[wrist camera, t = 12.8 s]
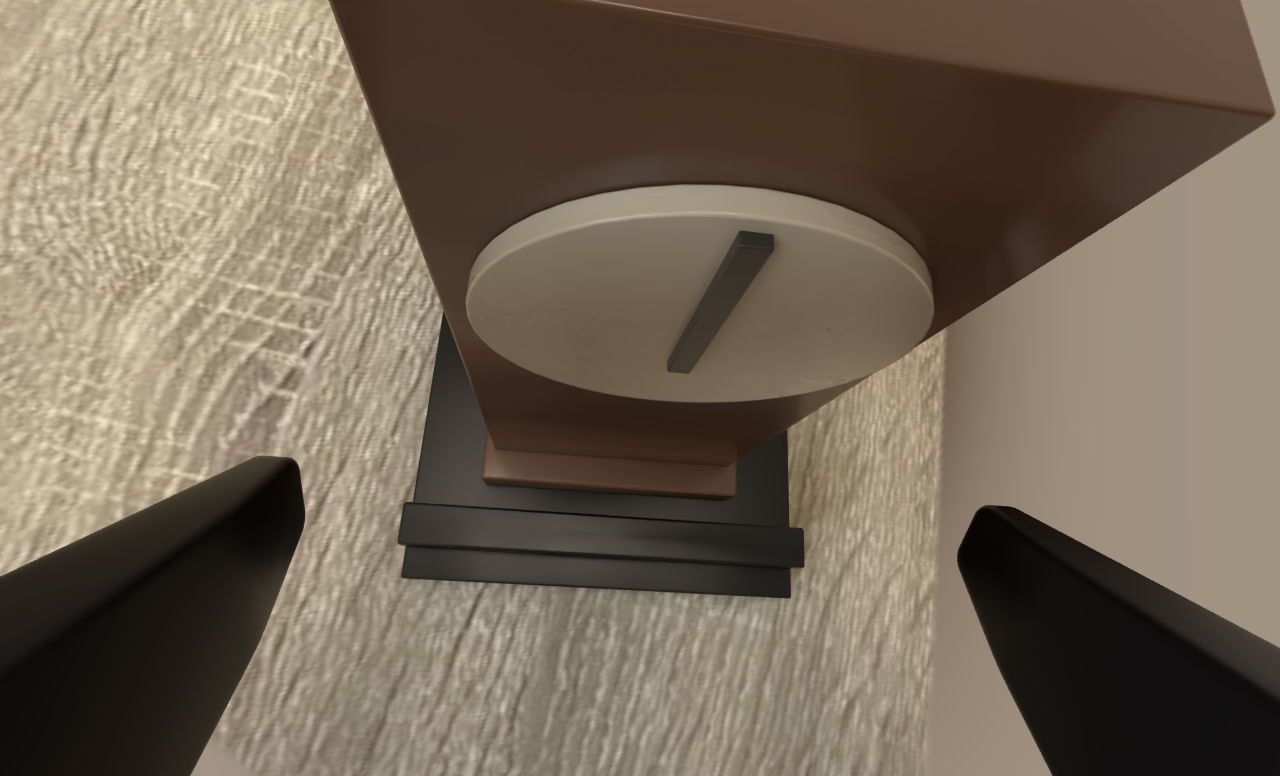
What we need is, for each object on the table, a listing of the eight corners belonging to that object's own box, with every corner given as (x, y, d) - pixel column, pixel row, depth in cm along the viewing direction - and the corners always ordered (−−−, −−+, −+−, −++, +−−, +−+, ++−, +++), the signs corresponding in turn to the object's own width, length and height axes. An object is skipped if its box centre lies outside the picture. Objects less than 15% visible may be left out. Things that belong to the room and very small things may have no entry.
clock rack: (778, 597, 18) (864, 603, 13) (408, 578, 16) (353, 576, 12) (773, 276, 21) (841, 185, 16) (461, 240, 19) (434, 129, 15)
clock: (727, 501, 17) (1349, 221, 4) (484, 484, 16) (221, 61, 3) (727, 332, 19) (1177, -285, 5) (505, 309, 18) (393, -479, 5)
